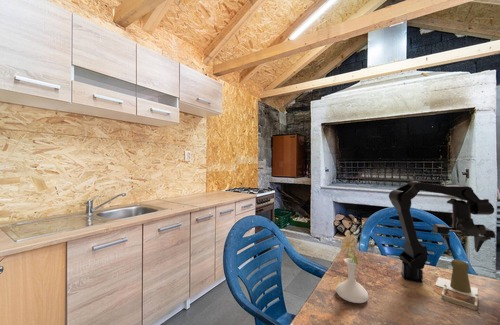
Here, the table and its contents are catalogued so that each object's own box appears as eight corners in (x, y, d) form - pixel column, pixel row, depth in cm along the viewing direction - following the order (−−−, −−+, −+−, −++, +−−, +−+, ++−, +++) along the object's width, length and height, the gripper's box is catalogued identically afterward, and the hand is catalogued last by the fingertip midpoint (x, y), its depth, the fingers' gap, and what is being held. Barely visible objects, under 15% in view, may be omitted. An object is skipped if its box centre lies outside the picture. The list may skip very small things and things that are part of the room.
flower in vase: (334, 286, 89) (333, 226, 89) (364, 290, 85) (363, 228, 86) (338, 306, 76) (337, 237, 76) (374, 312, 73) (372, 239, 73)
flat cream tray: (477, 310, 73) (477, 305, 73) (441, 298, 80) (441, 294, 80) (477, 299, 79) (477, 294, 79) (444, 288, 86) (444, 284, 86)
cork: (473, 294, 81) (473, 265, 81) (452, 289, 84) (451, 262, 84) (468, 286, 86) (467, 259, 86) (448, 282, 89) (447, 256, 90)
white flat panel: (477, 298, 79) (477, 298, 79) (435, 285, 88) (435, 284, 88) (477, 289, 85) (477, 288, 85) (438, 277, 94) (438, 276, 94)
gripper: (442, 217, 88) (443, 254, 88) (504, 221, 81) (505, 261, 81) (431, 211, 98) (432, 244, 98) (486, 214, 91) (487, 250, 91)
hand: (462, 250), depth 92 cm, fingers open, 9 cm apart
